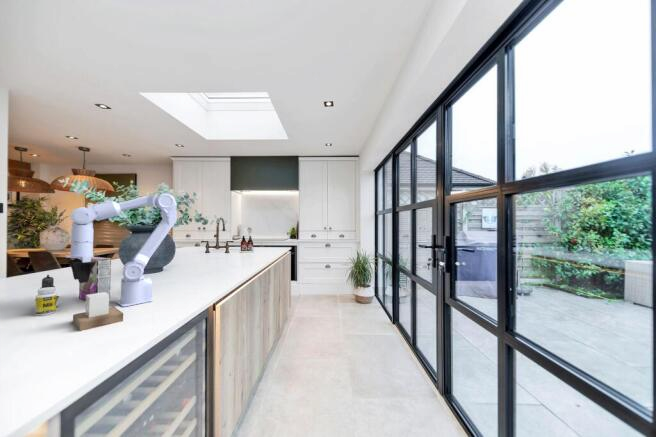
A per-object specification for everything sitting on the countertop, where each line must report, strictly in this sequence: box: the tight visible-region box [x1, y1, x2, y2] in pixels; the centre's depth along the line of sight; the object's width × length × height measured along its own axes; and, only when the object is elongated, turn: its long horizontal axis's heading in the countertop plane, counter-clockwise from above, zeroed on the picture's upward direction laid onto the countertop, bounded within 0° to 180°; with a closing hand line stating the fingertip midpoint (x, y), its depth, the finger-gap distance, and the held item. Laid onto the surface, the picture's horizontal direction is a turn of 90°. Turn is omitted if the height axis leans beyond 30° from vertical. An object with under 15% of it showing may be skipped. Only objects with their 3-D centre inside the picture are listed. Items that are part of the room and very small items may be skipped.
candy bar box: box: [78, 256, 112, 301], centre depth 104 cm, size 11×5×16 cm, turn 71°
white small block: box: [85, 292, 110, 318], centre depth 82 cm, size 5×5×6 cm
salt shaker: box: [34, 274, 60, 309], centre depth 94 cm, size 6×6×12 cm
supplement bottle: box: [34, 286, 58, 317], centre depth 88 cm, size 5×5×8 cm
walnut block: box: [72, 306, 124, 332], centre depth 82 cm, size 10×10×3 cm
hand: (80, 280), depth 92 cm, fingers open, 7 cm apart
